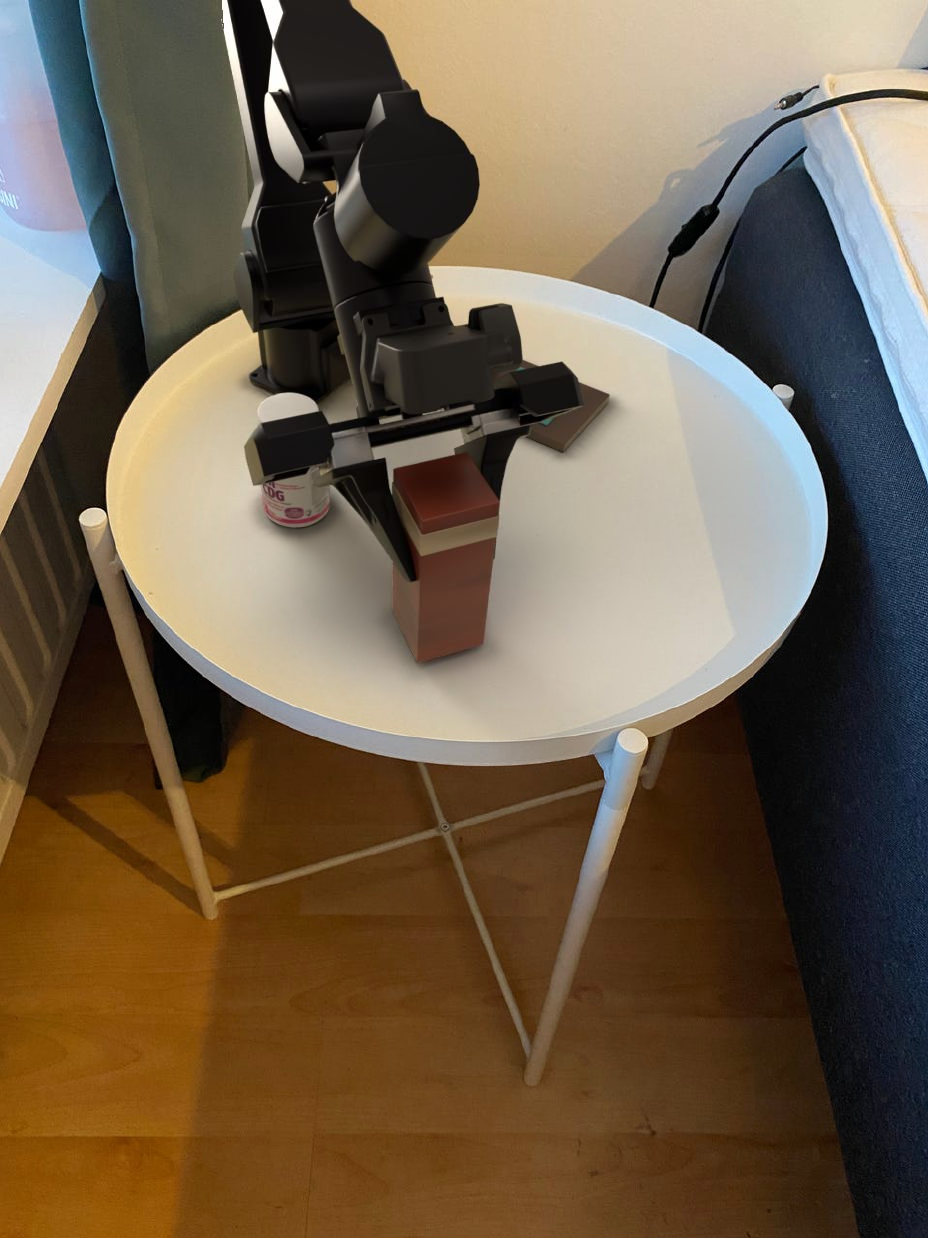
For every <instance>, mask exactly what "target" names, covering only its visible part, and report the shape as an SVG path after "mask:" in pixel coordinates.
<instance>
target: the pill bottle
mask: <svg viewBox="0 0 928 1238" xmlns="http://www.w3.org/2000/svg"><path fill="white" fill-rule="evenodd" d="M257 407H258V408H257V411H256V417H257V426H258V425H259V424H260V423H263V422H268V421H273V420H278V419H283V418H288V417H293V416H298V415H302V414H307V413H312V412H317V411H320V410H319V405H318V404H316V403H315V402H314V401H313V400H312V399H311V398H309V397H307V396H304V395H301V394H297V393H281V394H276V393H275V394H274V395H271V396H269V397H266V398H265V399H264V400H262V402H261V403H260V404H259V405H258V406H257ZM320 476H321V474H320V470H319V466H318V467H315V466H311V467H310V469H309V470H308V472H307V474H306V475H302V476H298V477H293V478H289V479H285V480H280V481H276V482H271V483H267V484H262V485H259V486H260V493H261V500H262V502H261V503H262V508H263V510H264V513H265V515H266V517H268V518H269V520H271V521H272V522H274V523H276V524H278V525H280V526H283V527H287V528H304V527H308V526H312V525H313V524H315V523H318V522H319V521H320V520H322V519H323V518H324V517H325V516H326V515H327V514H328V512H329V510H330V507H331V488H330V486H331V485H328V486H324V487H318V486H317V483H316V479H317V478H318V477H320Z"/></svg>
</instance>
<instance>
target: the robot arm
mask: <svg viewBox="0 0 928 1238" xmlns="http://www.w3.org/2000/svg"><path fill="white" fill-rule="evenodd" d="M222 10H223V23H224V29H223V34H224V40H225V44H226V49H227V54H228V59H229V64H230V70H231V74H232V79H233V84H234V90H235V94H236V98H237V104H238V109H239V114H240V119H241V124H242V131H243V135H244V140H245V145H246V149H247V155H248V159H249V165H250V169H251V175H252V180H253V189H252V193H251V197H250V199H249V203H248V205H247V209H246V212H245V215H244V218H243V221H242V224H241V228H240V232H241V233H240V234H241V238H242V244H243V249H244V251H243V252H239V255H238V257H237V258H238V259H237V261H236V263H235V268H234V271H233V281H234V286H235V291H236V297H237V301H238V305H239V307H240V309H241V311H242V313H243V315H244V317H245V319H246V321H247V323H248V325H249V327H250V330H251V332H252V334H256V333H257V337H258V338H257V339H258V347H259V355H260V362H261V363H260V364H261V365H260V366H258V367H257V368H256V369H254V370H253V371H251V372H250V373H249V374H248V379H249V382H250V383H253V384H254V385H257V386H259V387H261V388H263V389H265V390H268V391H270V392H272V393H273V394H275V395H276V394H281V393H297V394H301V395H304V396H307V397H309V398H311V399H312V400H313V401H314V402H315V403H316V404H317V405H318V404H320V403H321V402H322V401H324V400H325V399H326V398H328V396H330V395H331V394H332V393H334V392H335V391H336V390H337V389H338V388H340V387H341V386H342V385H344V384H345V383H346V382H347V381H349V380H351V385H352V388H353V392H354V396H355V400H356V404H357V405H356V406H355V407H354V409H355V413H356V417H357V418H353V419H347V420H342V421H336V422H332V423H329V421H328V419H327V416H326V415H325V413H324V411H323V410H319V411H317V412H312V413H307V414H302V415H298V416H293V417H288V418H283V419H278V420H273V421H268V422H263V423H260V424H259V425H258V424H257V427H255V428H254V430H253V431H252V433H250V435H249V437H248V439H247V441H246V442H245V444H244V445H243V449H244V450H243V451H244V456H245V461H246V465H247V470H248V472H249V476H250V480H251V483H252V486H253V487H255V486H260V485H262V484H267V483H271V482H276V481H280V480H285V479H289V478H293V477H298V476H302V475H306V474H307V472H308V470H309V469H310V467H311V466H315V467H318V466H319V470H320V474H321V476H320V477H318V478H317V479H316V483H317V486H318V487H324V486H328V485H330V486H332V487H334V488H335V490H336V491H337V492H338V493H339V494H340V495H341V496H342V498H344V500H345V501H346V502H347V503H348V504H349V506H350V507H352V508H353V510H354V511H355V512H356V513H357V514H358V516H359V517H360V518H361V519H362V521H364V523H365V524H366V525H367V527H368V528H369V530H370V531H371V532H372V534H373V535H374V537H375V539H376V540H377V541H378V542H379V544H380V545H381V547H382V548H383V550H384V551H385V553H386V554H387V556H388V557H389V558H390V560H391V561H392V564H393V563H394V564H395V566H396V567H397V569H398V570H399V572H400V573H401V575H402V576H403V577H404V579H405V580H406V581H407V582H414V581H416V574H415V568H414V563H413V558H412V553H411V550H410V547H409V544H408V541H407V538H406V535H405V532H404V529H403V526H402V523H401V520H400V517H399V514H398V511H397V508H396V505H395V502H394V499H393V497H392V489H391V487H390V480H389V471H388V463H387V458H386V456H384V457H381V458H375V456H374V453H373V449H376V448H380V447H386V446H389V445H395V444H399V443H403V442H408V441H413V440H417V439H423V438H427V437H430V436H435V435H441V434H445V433H449V432H454V431H458V430H460V433H461V437H462V441H463V443H462V444H461V445H458V446H456V447H454V448H453V452H454V455H455V454H459V453H464V452H468V453H469V455H470V456H471V458H472V460H473V461H474V463H475V464H476V466H477V467H478V469H479V470H480V472H481V473H482V475H483V477H484V478H485V480H486V481H487V483H488V484H489V486H490V487H491V489H492V490H493V492H494V494H495V495H496V497H497V498H498V500H499V501H500V502H501V499H502V489H503V483H504V478H505V474H506V470H507V466H508V462H509V459H510V457H511V455H512V452H513V450H514V447H515V445H516V443H517V441H518V440H521V439H523V438H527V437H526V436H528V435H530V431H531V425H530V424H535V423H539V422H542V421H546V420H549V419H552V418H554V417H557V416H560V415H562V414H565V413H567V412H570V411H572V410H575V409H577V408H580V407H582V406H584V403H583V399H582V395H581V390H580V386H579V382H580V381H579V378H578V377H577V375H576V374H575V373H574V372H573V370H572V369H571V368H570V367H568V365H567V364H565V363H564V361H557V362H553V363H548V364H547V363H546V364H543V365H537V367H532V368H527V369H522V370H518V371H513V372H509V373H507V374H505V375H503V376H502V377H500V378H498V379H496V380H495V381H493V375H492V374H494V373H499V372H504V371H509V370H514V369H519V367H520V366H521V363H522V361H523V360H524V359H523V356H524V355H523V346H522V337H521V333H520V330H519V326H518V322H517V319H516V318H517V317H516V315H515V312H514V311H515V310H514V307H513V305H512V304H508V303H503V302H500V303H499V302H498V303H493V304H489V305H483V306H478V307H472V308H471V309H469V312H468V319H467V323H465V324H460V325H454V323H453V321H452V319H451V315H450V312H449V307H448V304H446V302H445V298H444V296H438V297H437V295H436V291H435V287H434V284H433V283H434V282H433V279H432V273H431V270H430V266H429V263H430V262H431V261H432V260H433V259H434V258H435V257H436V255H437V254H439V252H441V250H442V249H443V248H444V247H445V245H446V244H447V243H448V242H449V241H450V240H451V239H452V238H453V237H454V236H455V234H456V233H457V232H458V231H459V230H460V229H461V228H462V226H463V225H464V224H466V222H467V220H468V219H469V218H470V216H471V215H472V213H473V212H474V209H475V208H476V205H477V202H478V199H479V194H480V186H481V183H480V171H479V165H478V163H477V162H478V161H477V159H476V156H475V155H474V154H473V153H471V151H470V149H469V147H468V145H467V144H466V142H465V140H463V139H462V137H461V136H460V135H459V134H458V132H457V131H456V130H455V129H453V128H452V127H450V125H448V124H447V123H446V122H444V121H443V120H440V119H438V118H436V117H434V116H432V115H430V114H429V113H428V112H427V110H426V108H425V107H424V104H423V102H422V97H421V93H420V91H419V90H418V89H417V88H415V89H413V88H412V87H411V85H410V84H409V82H408V81H407V80H406V79H404V78H402V74H401V72H400V69H399V67H398V65H397V62H396V60H395V57H394V54H393V52H392V50H391V49H392V48H391V47H390V45H389V42H388V40H387V38H386V37H387V36H386V35H385V33H384V32H383V31H382V30H380V29H379V28H378V27H377V26H376V25H374V23H372V21H370V20H369V19H368V18H367V17H365V16H364V15H363V14H362V13H360V11H358V10H357V9H356V8H355V7H354V6H353V4H352V2H351V0H222ZM334 181H335V186H336V191H335V192H334V193H332V192H331V190H330V189H329V188H328V187H327V185H326V184H325V183H327V182H334ZM396 417H401V419H399V420H394V421H389V422H384V423H381V422H380V421H383V420H387V419H392V418H396ZM526 425H527V426H526ZM521 426H522V427H521ZM500 506H501V505H500ZM500 506H499V509H500V508H501V507H500ZM497 537H498V536H497ZM497 537H496V541H495V549H494V558H493V561H494V560H495V557H496V550H497V549H496V548H497Z"/></svg>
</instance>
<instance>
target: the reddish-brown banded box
mask: <svg viewBox="0 0 928 1238" xmlns="http://www.w3.org/2000/svg"><path fill="white" fill-rule="evenodd" d="M391 494H392V497H393V499H394V502H395V505H396V508H397V511H398V514H399V517H400V520H401V523H402V526H403V529H404V532H405V535H406V538H407V541H408V544H409V547H410V550H411V553H412V558H413V563H414V568H415V574H416V581H414V582H407V581H406V580H405V579H404V577H403V576H402V575H401V573H400V572H399V570H398V569H397V567H396V566H395V564H394V563H393V562H392V592H391V594H392V597H391V598H392V599H391V600H392V603H391V604H392V605H391V606H392V607H391V611H392V612H391V613H392V615H393V618H394V619H395V621H396V624H397V625H398V627H399V629H400V631H401V634H402V635H403V637H404V640H405V641H406V643H407V646H408V647H409V649H410V651H411V653H412V655H413V657H414V659H415V662H416V663H417V664H420V663H423V662H426V661H431V660H433V659H438V658H441V657H444V656H447V655H451V654H454V653H458V652H461V651H464V650H468V649H472V648H474V647H475V648H476V647H478V646H481V645H482V646H483V645H484V644H485V635H486V628H487V627H486V625H487V618H488V609H489V601H490V592H491V582H492V574H493V566H494V560H493V558H494V549H495V541H496V542H497V539H496V537H498V534H499V525H500V517H501V516H500V508H499V506H501V500H500V501H499V500H498V498H497V497H496V495H495V494H494V492H493V490H492V489H491V487H490V486H489V484H488V483H487V481H486V480H485V478H484V477H483V475H482V473H481V472H480V470H479V469H478V467H477V466H476V464H475V463H474V461H473V460H472V458H471V456H470V455H469V453H468V452H464V453H459V454H455V453H454V454H451V455H447V456H443V457H438V458H434V459H428V460H425V461H420V462H416V463H411V464H407V465H402V466H398V467H394V468H392V481H391ZM494 559H495V558H494Z"/></svg>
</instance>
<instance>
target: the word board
mask: <svg viewBox="0 0 928 1238" xmlns="http://www.w3.org/2000/svg"><path fill="white" fill-rule="evenodd" d="M537 366H538V365H537V364H535V363H533V362H529V361H527V360H525V359H523V361H522V363H521V366H520V367H519V369H514V370H509V371H504V372H499V373H494V374H492V375H493V381H495V380H496V379H498V378H500V377H502V376H503V375H505V374H507V373H509V372H513V371H518V370H522V369H527V368H532V367H537ZM579 386H580V390H581V395H582V399H583V403H584V406H582V407H580V408H577V409H575V410H572V411H570V412H567V413H565V414H562V415H560V416H557V417H554V418H552V419H549V420H546V421H542V422H539V423H535V424H530V425H531V431H530V435H528V436H526V437H525V438H528V439H530V440H533V441H535V442H538V443H540V444H543V445H545V446H547V447H548V448H549V447H550V448H551V449H554V450H557V451H559V452H561V453H564V452H565V451H566V450H567V449H568V448H569V446H570V445H571V444H572V443H573V442H574V441H575V440H576V438H578V436H580V434H581V433H582V432H583V430H585V429H586V428H587V426H588V425H589V424H590V423H591V422H592V421H593V420H594V419H595V418H596V416H597V415H598V414H599V413H600V412H601V411H602V410H603V409H604V408H605V406H606V405H607V404H608V403H609V401H610V398H611V397H610V396H611V394H610V393H607V392H605V391H603V390H600V389H598V388H595V387H592V386H590V385H587V384H585V383H582V382H580V381H579ZM526 426H527V425H526ZM521 427H522V426H521Z"/></svg>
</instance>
